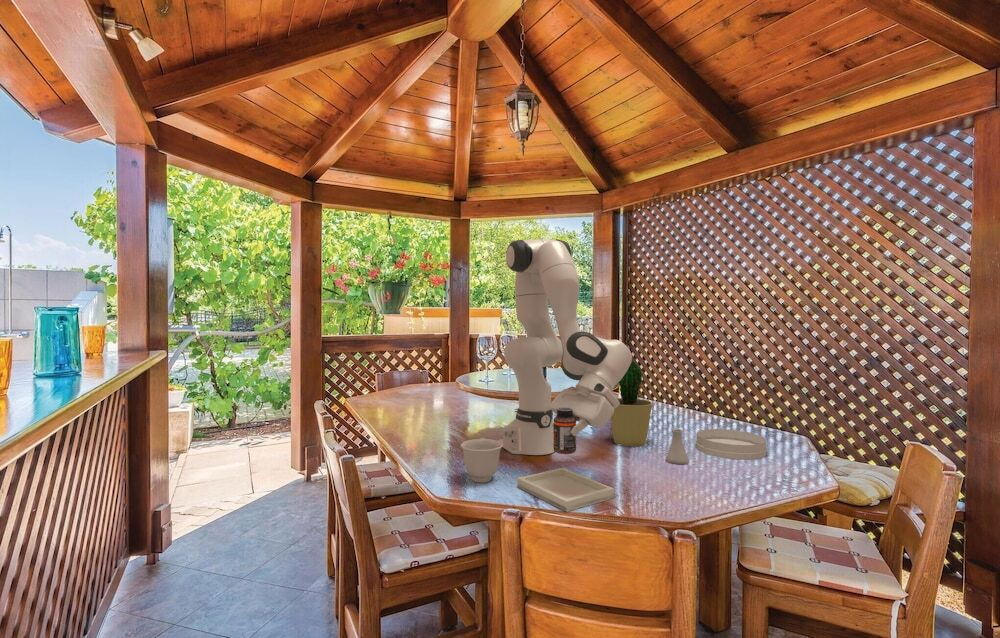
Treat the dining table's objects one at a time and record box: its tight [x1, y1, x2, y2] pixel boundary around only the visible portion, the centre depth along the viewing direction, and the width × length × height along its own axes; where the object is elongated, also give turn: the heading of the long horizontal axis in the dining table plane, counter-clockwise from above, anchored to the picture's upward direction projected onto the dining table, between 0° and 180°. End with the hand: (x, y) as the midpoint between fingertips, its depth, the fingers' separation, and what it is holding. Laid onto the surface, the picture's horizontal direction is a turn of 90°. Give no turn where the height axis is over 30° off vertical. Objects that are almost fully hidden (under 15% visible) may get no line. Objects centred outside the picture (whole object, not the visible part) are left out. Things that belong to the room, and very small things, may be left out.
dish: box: [695, 428, 768, 461], centre depth 174 cm, size 22×22×5 cm
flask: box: [664, 428, 690, 465], centre depth 161 cm, size 7×7×10 cm
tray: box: [517, 467, 615, 513], centre depth 133 cm, size 20×16×2 cm
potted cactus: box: [610, 360, 653, 447], centre depth 183 cm, size 15×15×30 cm
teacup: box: [460, 437, 503, 483], centre depth 145 cm, size 12×15×10 cm
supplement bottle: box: [553, 408, 577, 455], centre depth 133 cm, size 6×6×11 cm
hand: (562, 431), depth 133 cm, fingers closed on supplement bottle, 6 cm apart
